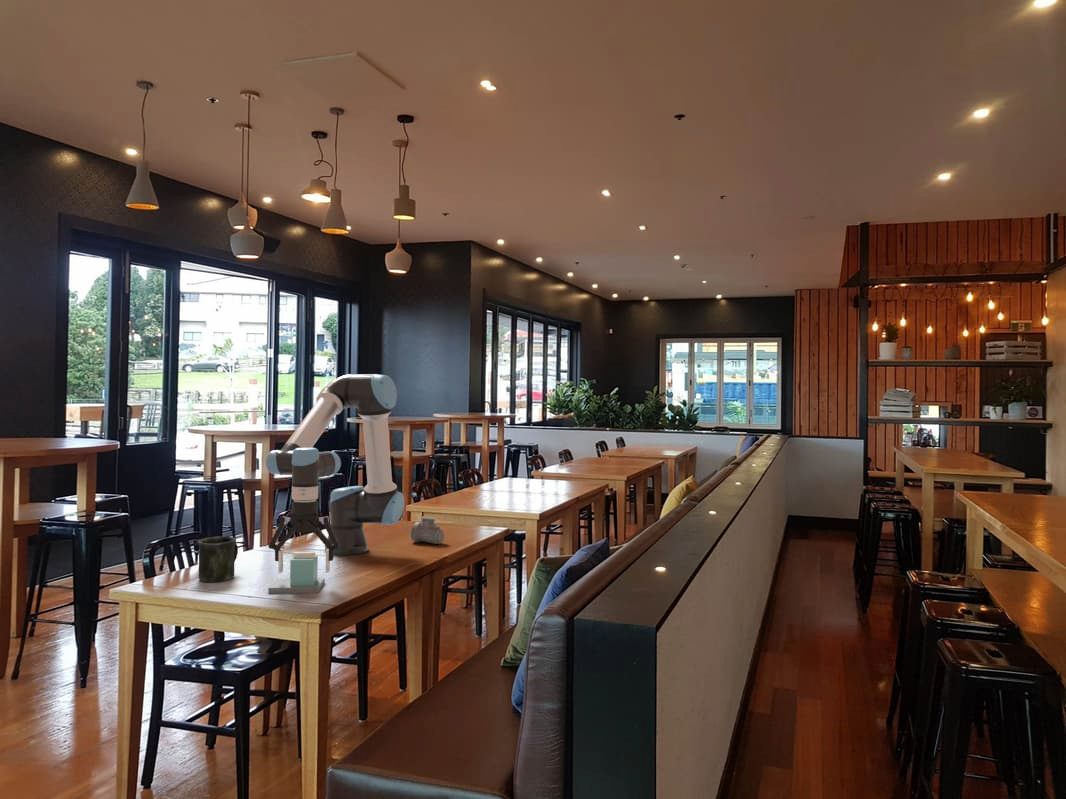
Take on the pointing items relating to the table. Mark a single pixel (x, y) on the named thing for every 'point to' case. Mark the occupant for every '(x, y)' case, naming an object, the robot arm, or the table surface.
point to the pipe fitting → (427, 531)
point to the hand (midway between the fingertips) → (304, 572)
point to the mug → (217, 558)
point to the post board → (284, 586)
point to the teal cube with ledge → (303, 569)
